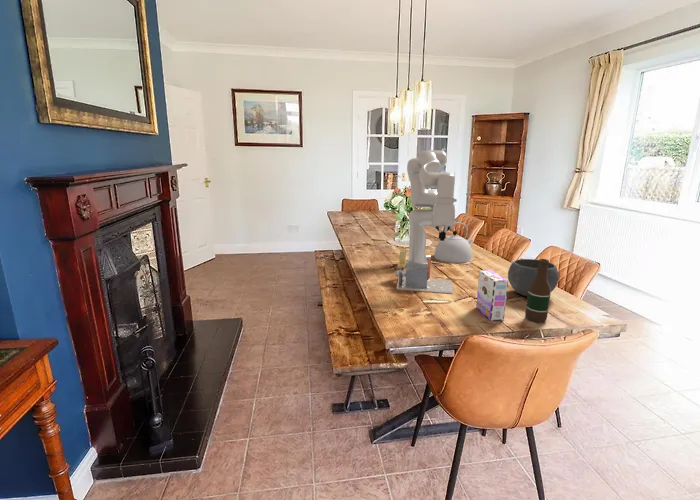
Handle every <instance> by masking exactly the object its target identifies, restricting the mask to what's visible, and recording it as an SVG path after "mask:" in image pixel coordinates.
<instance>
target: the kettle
mask: <svg viewBox="0 0 700 500" xmlns="http://www.w3.org/2000/svg"><path fill="white" fill-rule="evenodd" d="M455 224H460V225H461V224H462V225H464V227H465V229H466V234H465V236H464V237H462V236H459V235H457V234H458V231H457V230H453V231H452V235H446V239H444V241H440V240H439V242H438V243H437V245H436V246H435V248H434V249H435V250H434V255H433V258H435V259H436V260H438V261H441V262H443V263H444V262H446V263H452V264H453V263H454V264H455V263H456V264H460V263H461V264H462V263H470V262H471V261H472V260H473V249H472V247H471V245H470V244H471V243H473V241H474V239H472V238H468V239H466V238H467V236H468V235H469V227H468V225H467V224H466V223H464V222H460V221H455ZM443 230H444V228H443V229H442V231H443Z"/></svg>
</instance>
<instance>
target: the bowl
mask: <svg viewBox="0 0 700 500" xmlns="http://www.w3.org/2000/svg"><path fill="white" fill-rule="evenodd" d="M538 261H539V259H532V258H520V259H516V260H514V261H512V263H511V264H510V266H509V268H508V270H507V280H508V283H509V285H510V286H511V288H512V289H513V290H514V291H515V292H517V294H519V295H522V296H525V297H528V290H529V286H530V285H531V283H532V282H533V281H534V280H535V278H536V274H537V269H538V264H539V263H538ZM559 278H560V275H559V269H558V268H557V266H556V265H555V264H554V263H552V262H549V264H548V272H547V281H548V283H549V284H550V288H551V293H552V292H553V291H554V290H555V288H557V285H558V283H559Z"/></svg>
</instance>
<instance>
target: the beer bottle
mask: <svg viewBox="0 0 700 500" xmlns="http://www.w3.org/2000/svg"><path fill="white" fill-rule="evenodd" d="M538 260H539V261H538V263H539V264H538V269H537V274H536V278H535V280H534V281H533V282H532V283H531V285H530V286H529V290H528V296H526V299H527V300H526V305H525V313H524V314H525V315H524V318H526V319H527V320H528V322H533V323H536V324H539V323H543V324H544V323H545V322H546V321H547V320H548V319H547V318H548V315H549V308H550V302H551V301H550V299H551V293H552V292H551V288H550V284H549V283H548V281H547V272H548V264H549V263H550V260H549V259H547V258H540V259H538Z"/></svg>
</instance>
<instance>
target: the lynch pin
mask: <svg viewBox="0 0 700 500" xmlns="http://www.w3.org/2000/svg"><path fill="white" fill-rule="evenodd" d="M431 262H432V258H431V257H428V259H427V264H428V276H427V281H430V279H431V278H430V277H431V264H432V263H431ZM399 272H402V277H406V270H404V271H401V269H399V270H397V269H396V270H395V277H398V278H399Z"/></svg>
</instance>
